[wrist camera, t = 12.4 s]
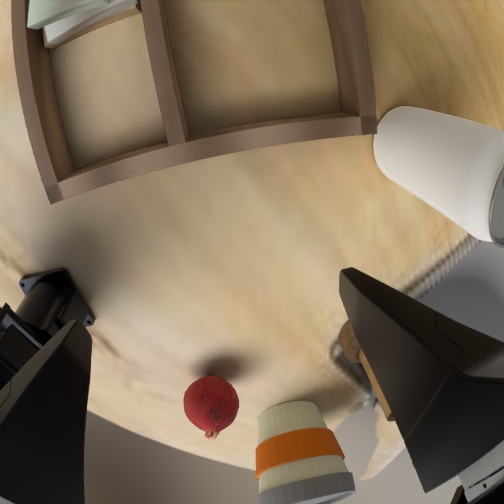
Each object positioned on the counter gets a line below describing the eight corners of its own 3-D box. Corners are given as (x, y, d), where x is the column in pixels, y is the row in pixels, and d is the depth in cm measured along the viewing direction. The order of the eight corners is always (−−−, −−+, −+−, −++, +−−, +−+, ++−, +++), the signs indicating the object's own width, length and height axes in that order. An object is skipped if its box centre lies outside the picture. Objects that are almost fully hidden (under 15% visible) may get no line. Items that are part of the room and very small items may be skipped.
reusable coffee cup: (252, 396, 34) (271, 504, 21) (341, 389, 37) (375, 481, 24) (240, 435, 40) (252, 518, 27) (314, 428, 43) (335, 504, 30)
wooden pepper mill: (326, 339, 30) (385, 492, 15) (369, 298, 28) (457, 451, 13) (360, 354, 33) (417, 482, 17) (399, 319, 31) (474, 445, 15)
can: (394, 196, 22) (493, 275, 12) (355, 136, 20) (473, 193, 9) (441, 151, 21) (547, 206, 10) (409, 90, 18) (534, 116, 8)
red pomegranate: (195, 354, 29) (196, 422, 22) (244, 367, 31) (253, 430, 24) (177, 382, 31) (175, 442, 24) (221, 393, 33) (227, 450, 26)
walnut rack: (68, 189, 19) (50, 204, 16) (31, -19, 9) (12, -27, 6) (357, 127, 19) (377, 133, 17) (314, -83, 9) (327, -100, 7)
